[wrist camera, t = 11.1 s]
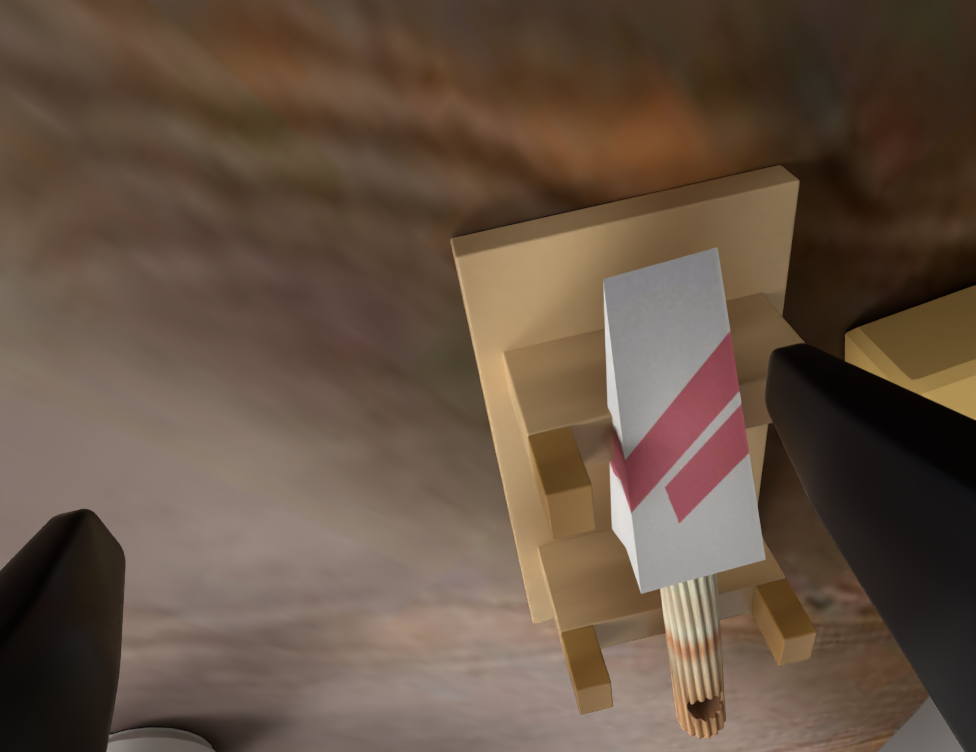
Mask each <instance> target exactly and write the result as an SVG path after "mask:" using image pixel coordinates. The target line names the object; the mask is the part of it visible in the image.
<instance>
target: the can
mask: <svg viewBox="0 0 976 752" xmlns="http://www.w3.org/2000/svg"><path fill="white" fill-rule="evenodd" d="M107 752H216V751H214V750H213V749H212V746H211V744H209V743H208V742H207V741H206V740H205V739H204V738H202V737H200V736H198V735H195V734H193V733H190V732H188V731H183V730H178V729H172V728H153V727H147V728H139V729H131V730H125V731H122V732H118V733H115V734H111V735H109V741H108V747H107Z"/></svg>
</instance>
